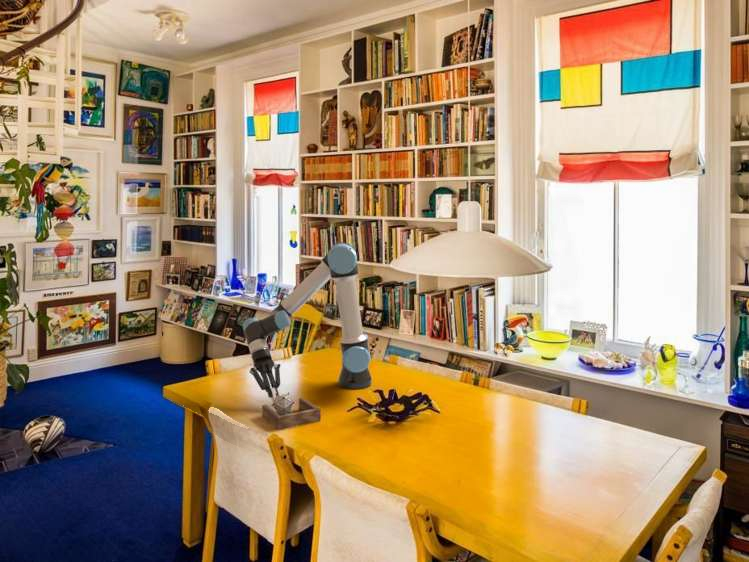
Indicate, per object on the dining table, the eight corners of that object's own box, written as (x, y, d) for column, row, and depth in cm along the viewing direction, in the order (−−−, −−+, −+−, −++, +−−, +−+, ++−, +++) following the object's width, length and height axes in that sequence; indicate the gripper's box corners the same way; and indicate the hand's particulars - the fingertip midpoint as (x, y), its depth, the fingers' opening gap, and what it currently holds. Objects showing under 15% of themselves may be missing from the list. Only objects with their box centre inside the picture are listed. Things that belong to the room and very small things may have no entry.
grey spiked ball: (285, 424, 229) (288, 409, 222) (266, 415, 230) (268, 400, 224) (297, 407, 235) (299, 392, 229) (278, 398, 237) (279, 383, 230)
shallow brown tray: (302, 408, 236) (302, 397, 235) (320, 420, 223) (320, 409, 223) (262, 416, 227) (262, 405, 226) (278, 429, 214) (278, 417, 213)
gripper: (272, 355, 251) (288, 405, 239) (242, 359, 244) (258, 411, 232) (277, 345, 245) (294, 396, 234) (247, 349, 238) (263, 402, 227)
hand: (276, 403), depth 233 cm, fingers closed
